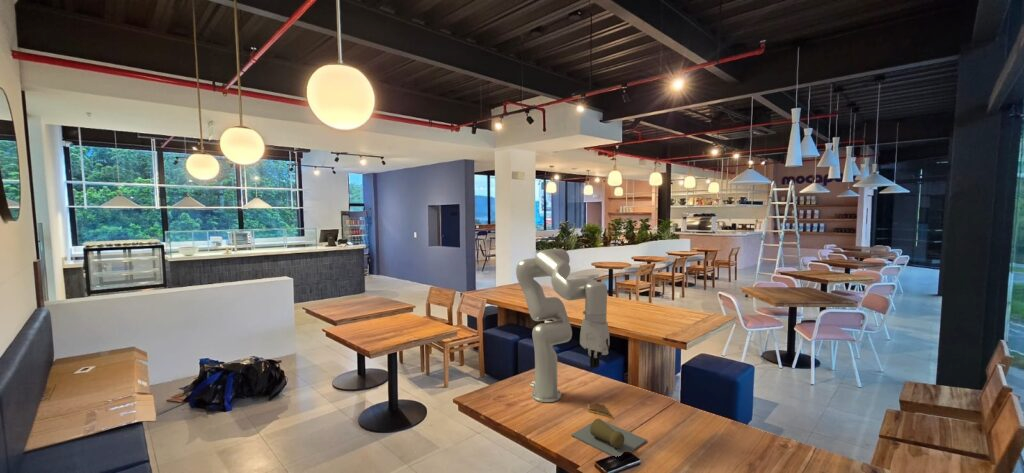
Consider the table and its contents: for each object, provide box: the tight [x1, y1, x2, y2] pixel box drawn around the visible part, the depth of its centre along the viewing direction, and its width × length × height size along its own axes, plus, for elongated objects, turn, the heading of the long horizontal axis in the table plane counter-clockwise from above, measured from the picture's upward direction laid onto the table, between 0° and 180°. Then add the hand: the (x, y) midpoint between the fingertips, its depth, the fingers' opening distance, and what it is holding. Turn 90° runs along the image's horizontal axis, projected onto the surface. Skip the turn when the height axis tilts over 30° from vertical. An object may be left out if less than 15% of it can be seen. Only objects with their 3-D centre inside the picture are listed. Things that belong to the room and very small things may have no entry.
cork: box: [590, 418, 625, 448], centre depth 143 cm, size 6×6×11 cm
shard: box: [586, 402, 613, 419], centre depth 165 cm, size 11×8×2 cm
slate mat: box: [570, 420, 648, 457], centre depth 146 cm, size 20×16×1 cm
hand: (594, 366), depth 151 cm, fingers closed
